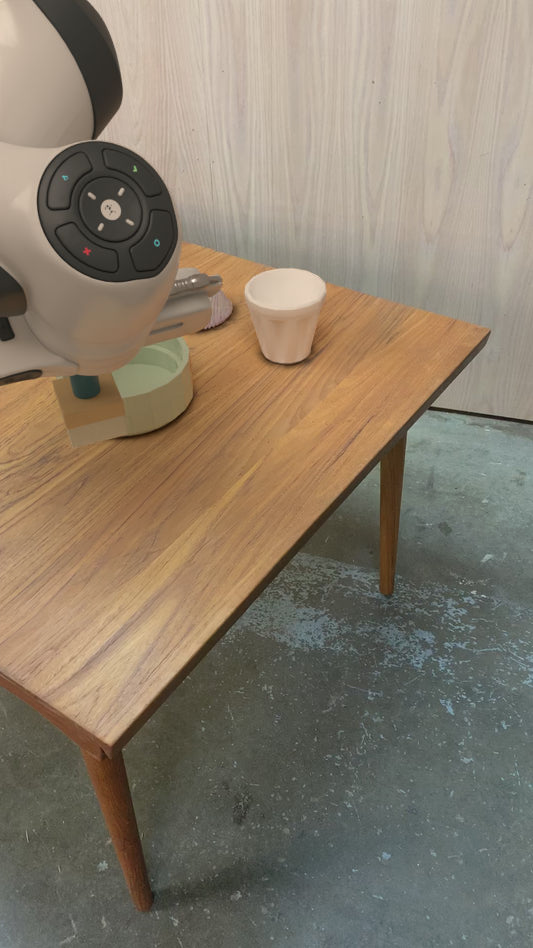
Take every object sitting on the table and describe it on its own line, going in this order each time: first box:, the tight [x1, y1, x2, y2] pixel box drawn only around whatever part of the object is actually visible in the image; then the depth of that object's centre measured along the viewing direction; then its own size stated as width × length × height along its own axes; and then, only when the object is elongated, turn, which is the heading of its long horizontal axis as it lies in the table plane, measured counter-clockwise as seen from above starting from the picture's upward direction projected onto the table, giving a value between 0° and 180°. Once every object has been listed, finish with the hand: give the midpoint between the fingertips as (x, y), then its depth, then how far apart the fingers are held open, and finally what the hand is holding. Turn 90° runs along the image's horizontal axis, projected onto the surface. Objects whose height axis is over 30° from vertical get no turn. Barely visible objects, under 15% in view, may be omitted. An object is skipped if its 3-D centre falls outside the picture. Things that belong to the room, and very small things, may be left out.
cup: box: [243, 267, 327, 366], centre depth 97 cm, size 10×10×9 cm
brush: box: [51, 372, 128, 449], centre depth 66 cm, size 5×5×14 cm
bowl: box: [55, 336, 194, 437], centre depth 92 cm, size 15×15×6 cm
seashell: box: [199, 288, 233, 332], centre depth 107 cm, size 10×6×10 cm
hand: (78, 356), depth 66 cm, fingers closed on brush, 2 cm apart
